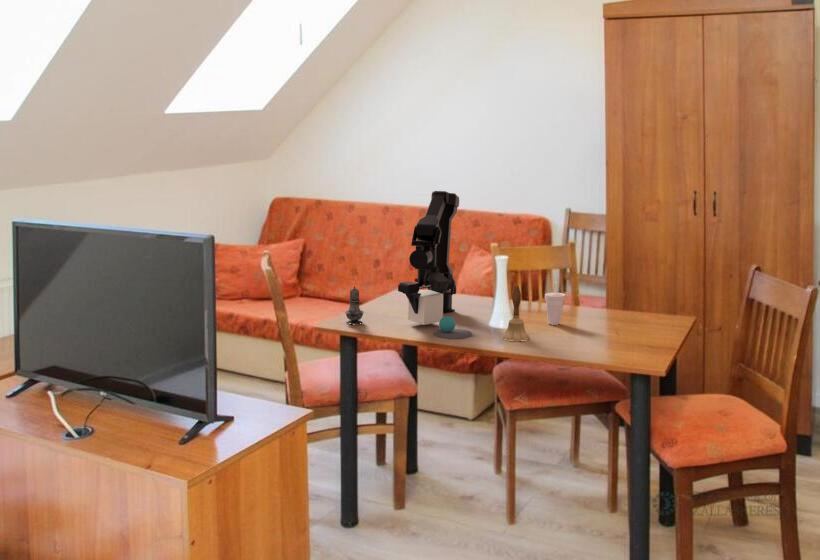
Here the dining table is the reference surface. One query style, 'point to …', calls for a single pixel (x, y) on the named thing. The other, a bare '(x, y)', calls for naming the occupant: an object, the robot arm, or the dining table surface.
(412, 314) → the white block
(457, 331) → the disc
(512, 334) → the hand bell
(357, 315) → the salt shaker
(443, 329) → the ball
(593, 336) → the dining table surface
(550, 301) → the smoothie
